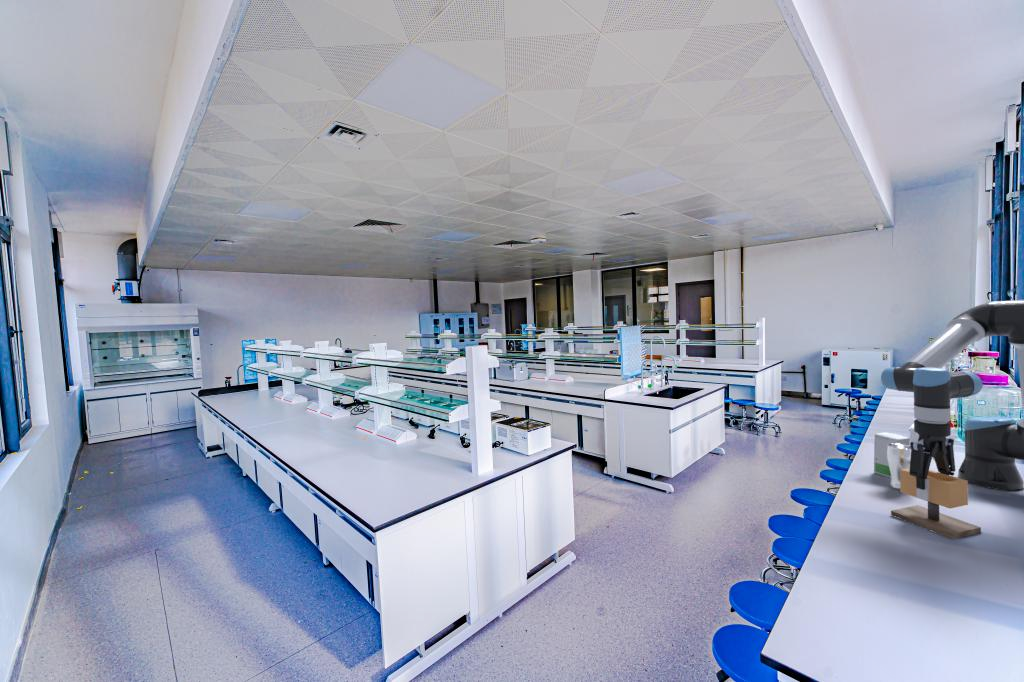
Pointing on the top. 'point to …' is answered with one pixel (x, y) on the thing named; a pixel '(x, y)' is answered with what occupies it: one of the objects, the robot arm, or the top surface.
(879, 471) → the skincare box
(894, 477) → the beer glass
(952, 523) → the keeper board
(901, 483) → the orange link
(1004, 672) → the top surface
